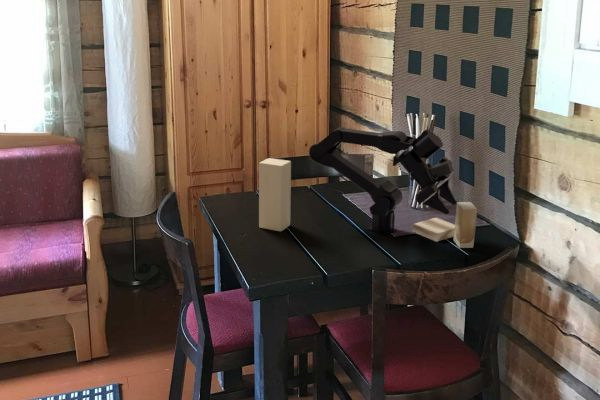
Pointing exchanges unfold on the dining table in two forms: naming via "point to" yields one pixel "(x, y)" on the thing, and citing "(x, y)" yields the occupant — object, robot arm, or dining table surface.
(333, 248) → the dining table surface
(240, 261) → the dining table surface
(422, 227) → the birch block
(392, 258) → the dining table surface
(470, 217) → the skincare box
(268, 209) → the beige tall rectangular block
